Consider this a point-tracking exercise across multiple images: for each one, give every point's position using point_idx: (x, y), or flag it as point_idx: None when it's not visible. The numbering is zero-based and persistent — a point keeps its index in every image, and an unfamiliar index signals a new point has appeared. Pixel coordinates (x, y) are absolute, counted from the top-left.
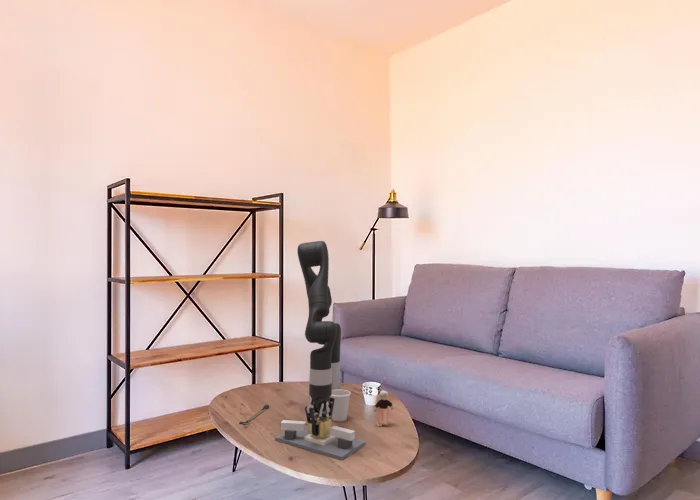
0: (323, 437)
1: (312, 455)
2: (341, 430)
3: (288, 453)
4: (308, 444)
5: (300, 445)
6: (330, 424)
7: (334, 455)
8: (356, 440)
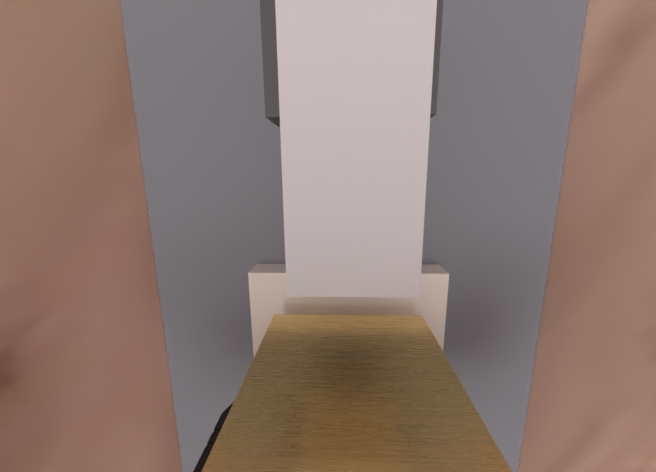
0: (417, 317)
1: (593, 255)
2: (417, 36)
3: (639, 418)
4: (488, 379)
5: (519, 420)
6: (261, 385)
7: (576, 51)
8: (157, 65)
